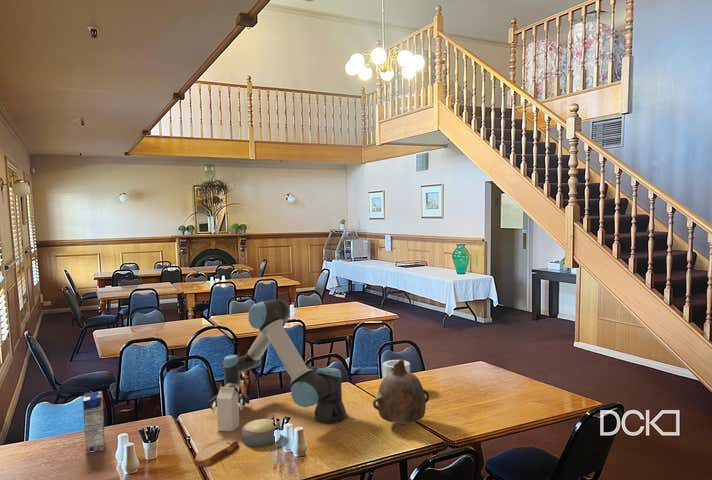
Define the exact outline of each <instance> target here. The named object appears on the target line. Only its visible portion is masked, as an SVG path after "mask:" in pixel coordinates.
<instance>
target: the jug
mask: <svg viewBox="0 0 712 480" xmlns="http://www.w3.org/2000/svg"><path fill="white" fill-rule="evenodd" d="M398 360H399V361H398V362H397V363H395V364H394V367H393V368H392V369H391V373H389V374H387V375H386V376H385V377H384V379H383V378H382V380H381V382H380V385H379V386H378V387H379V388H378V394H377V396H376V397H375V398H374V399H373V400H372V406H373V408H374V409H375V410H377V412H378V414H379V416H380V418H381V419H382V420H385V421H386V422H389V423H394V424H398V425H399V426H405V425H407V424H411V423H414V422H418V421H421V420H422V419H424V417H425V413H426V405H427V403H428V401H429V400H430V395H429V392H428V391H427V390H426V389H424V387H423V385H422V383H421V381H420V379H419V378H418V377H417V376H416V375H415V374H414V373H412V372H411V371H410V372H409V371H406V369H405V365H404V361H405V360H404V359H398ZM425 395H426V397H425Z"/></svg>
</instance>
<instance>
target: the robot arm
mask: <svg viewBox="0 0 712 480" xmlns="http://www.w3.org/2000/svg"><path fill="white" fill-rule="evenodd" d="M290 316H291V309H290V306H289V304H288V303H287V302H286V301H285V300H283V299H279V298H278V299H277V298H275V299H270V300H266V301H260V302H256V303H254V304H252V305H251V307H250V308H249V311H248V315H247V317H248V322H249V325H250V326H251V328H253V329H255V330H259V333H258V335H257V336H256V338H255V339H254V341H253V343H252V344H251V346H250V348H249V349H248V351H247V352H246V354H245V355H242V356H238V355H237V354H230V355H226V356H225V357H224V358H223V365H222V366H223V376H224V377H223V381H224V383H223V384H224V386H223V387H234V390H235V391H236V392H237V393H238V404H239V407H240V408H239V411H242V410H243V407H245V406H246V404H247V405H249V404H250V397H249V396H248V395H247V394H245V392H241V393H240V387H241V381H240V373H241V372H245V371H248V370H251V369H254V368H256V367H259V366H260V365H261V363H262V356H263V354H265V352H266V350H267V349H268V347H269V346H270V344H271V346H272V347H273V350H274V351H275V352H276V355H277V356H278V358H279V359H280V361H281V363H282V365H283V367H284V368H285V370H286V372H287V374H288V375H289V376H290V379H291V380H290V385H291V388H290V392H291V393H290V395H291V398H292V401H293V402H294V403H295V404H296V405H297V406H299V407H302V408H308V407H313V406H315V405H316V407H315V410H314V413H313V414H314V415H313V418H314V421H315V422H318V423H322V424H333V423H339V422H342V421H344V420H345V419H346V418H347V411H346V408H345V405H344V402H343V394H342V393H343V391H342V390H343V389H342V372H341V370H340V369H339V368H335V367H319V368H317V369H316V370H315V371H314V370H313V369H311V368H308V367H307V365H306V363H305V361H304V359H303V358H302V356H301V355H300V353H299V351H298V350H297V348H296V345H295V344H294V342H293V340H292V339H291V338H290V336H289V335H288V332H287V331H286V329H285V328H284V327H285V326H286V324H287V323H288V321H289V319H290ZM239 393H240V394H239ZM217 396H218V394H216V395H214V397H212V398H210V399H209V400H208V401H207V408H210V410H212V412H211V413H212V414H214V413H215V412H216V410H217Z"/></svg>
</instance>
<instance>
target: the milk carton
mask: <svg viewBox="0 0 712 480" xmlns="http://www.w3.org/2000/svg"><path fill="white" fill-rule="evenodd" d="M217 395H218V396H217V406H216V413H217V430H218V432H231V431H232V432H234V431H235V430H236V429H237V428H238V427H240V408H239V407H240V403H238V393H237V392H236V391H235V390H234V387H224V386H219V391H218V394H217Z"/></svg>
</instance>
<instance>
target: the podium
mask: <svg viewBox="0 0 712 480" xmlns="http://www.w3.org/2000/svg"><path fill="white" fill-rule="evenodd" d="M272 420H273V419H272V418H260V419H254V420H252V421H249V422H247V423H245V424H244V425H243V426H242V430H241V431H242V432H241V433H242V435H241V436H242V444H243V445H245V446H247V447H249V448H264V447H269V446H272V445H275V444H276V443H275V436H274V431H275V428H276V427H277V426H278V428H280V429H281V423H280V422H279V421H278V420H276V421H275V422H276V426H274V425H273V421H272Z"/></svg>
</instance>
